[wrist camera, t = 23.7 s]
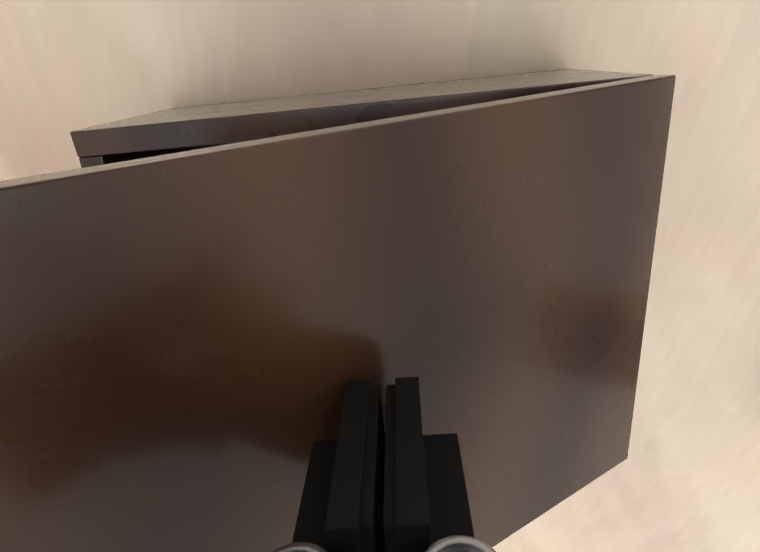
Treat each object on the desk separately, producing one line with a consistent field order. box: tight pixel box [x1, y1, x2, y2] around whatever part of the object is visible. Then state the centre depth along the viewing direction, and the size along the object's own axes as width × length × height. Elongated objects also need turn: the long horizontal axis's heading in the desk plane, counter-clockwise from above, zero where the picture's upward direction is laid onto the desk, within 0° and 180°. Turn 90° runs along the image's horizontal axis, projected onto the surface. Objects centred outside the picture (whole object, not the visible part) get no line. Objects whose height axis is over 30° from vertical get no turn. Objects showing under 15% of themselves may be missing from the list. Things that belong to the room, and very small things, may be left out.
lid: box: [0, 75, 676, 552], centre depth 13 cm, size 18×14×1 cm
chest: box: [71, 69, 651, 168], centre depth 21 cm, size 18×14×8 cm
